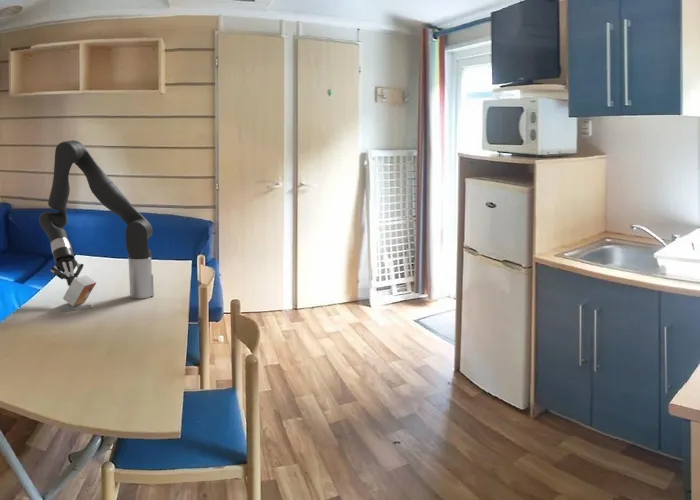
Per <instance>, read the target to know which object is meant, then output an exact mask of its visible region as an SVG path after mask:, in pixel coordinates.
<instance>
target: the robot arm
mask: <svg viewBox="0 0 700 500" xmlns="http://www.w3.org/2000/svg"><path fill="white" fill-rule="evenodd" d="M73 164H75V165H76V166H77V168H78V169H79V170H81V172H82V173H83V175H84V176H85V178H86V181H87V183H88V187H89V189H90V191H91V193H92V194H93V195H94V197H95V198H96V199H97V200H98V201H99V203H100V204H102V205H103V206H104V207H105V208H107V209H108V210H109V211H111V212H112V213H113V214H115V215H116V216H118V217H119V218H120V219H121V220H122V221H123V222H124V223H125V225H126V227H125V230H124V232H125V233H124V236H125V238H124V239H125V246H126V247H125V249H126V252H127V255H128V256H127V258H128V277H129V280H128V281H129V297H130V298H132V299H148V298H151V296H152V297H154V296H155V293H154V292H155V291H154V290H155V289H154V274H153V273H152V272H153V269H152V250H150V249H149V240H148V239H150V238H151V237H152V235H153V227H152V225H151V223H150V222H149V221H148V219H146V218H145V217H144V216H143V215H142V214H141V213H140V212H139V211H138V210H137V209H136V208H135V207H134V206H133V204H131V202H130V201H129V200H128V198H127V197H126V196H125V194H123V192H122V191H121V190H120V189H119V188H118V186H117V185H116V184H115V183H114V182H113V180H111V178H110V177H109V176H108V175H107V174H106V173H105V172H104V170H103V169H102V168H101V167H100V166H99V164H97V162H96V161H95V160H94V157H92V155H91V153H90V152H89V150H88V149H87V147H86V146H85V145H84V144H83V143H81V141H79V140H72V139H71V140H66V141H62V142H60V143H58V144H57V146H56V147H55V152H54V165H53V166H54V167H53V176H52V177H53V178H52V185H51V189H50V192H49V193H50V194H49V197H48V200H47V201H48V202H47V206H48V207H49V208H51V209H53V210H56V211H57V212H55V211H54V212H53V211H44V212H42V213H40V214H39V217H38V223H39V226H40V227H41V229H42V230H43V231H44V233H45V235H46V236H47V238H48V240H49V243H50V249H51V254H52V256H53V261H54V263H55V264H54V266H51V268H50V273H51V274H53V275H54V276H56V277H58V278H59V279H61V280H66V283H67V286H68V287H69V286H70V285H71V283H72V281H73V279H74V278H78V277H79V275H80V273H81V272H82V270H83V268H84V264H83V263H78V261H77V260H76V259H75V255H74V251H73V248H72V245H71V242H70V241H69V238H68V234H67V231H66V230H65V229H64V228H65V227H66V225H67V223H68V217H67V206H68V205H67V204H68V200H69V196H70V192H71V190H70V182H69V174H70V171H71V168H72V166H73ZM75 269H77V270H76V271H75V272H74V270H75Z"/></svg>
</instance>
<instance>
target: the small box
mask: <svg viewBox="0 0 700 500" xmlns="http://www.w3.org/2000/svg"><path fill="white" fill-rule="evenodd" d="M96 284H97V282H96V281H95V280H94V278H93V279H92V278H91V277H90V276H89V275H87V274H85V275H82V276H78V277H77V278H74V279H73V281H72V283H71V285H70V286H68V288H67V290H66V291H65V294H64V295H63V297H62V299H63V300H64V301H66V303H68V304H69V305H70V306H71V307H74V306H79V304H80V305H81V304H83V303H85V302H86V301H87V299H88V298H89V296H90V295H91V292H92V291H93V289H94V288H95V286H96Z"/></svg>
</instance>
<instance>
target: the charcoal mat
mask: <svg viewBox="0 0 700 500" xmlns="http://www.w3.org/2000/svg"><path fill="white" fill-rule="evenodd" d="M90 309H93V307H92V305H91V304H86V305H85V304H84V305H75V306H67V307H60V312H61V313H62V312H72V311H79V310H82V311H83V310H90Z"/></svg>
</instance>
